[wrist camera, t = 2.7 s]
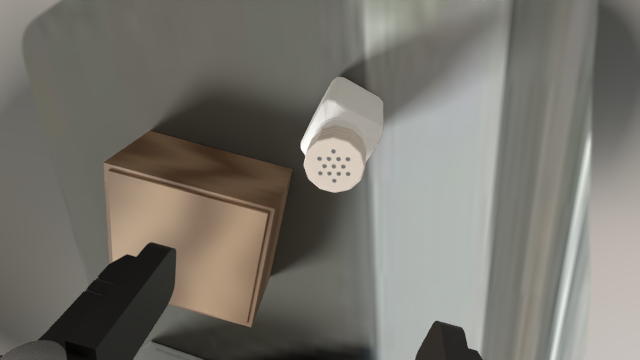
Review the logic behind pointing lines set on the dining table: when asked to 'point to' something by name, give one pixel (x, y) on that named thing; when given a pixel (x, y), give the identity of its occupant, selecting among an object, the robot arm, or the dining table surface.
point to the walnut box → (199, 219)
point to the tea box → (163, 353)
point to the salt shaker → (342, 136)
